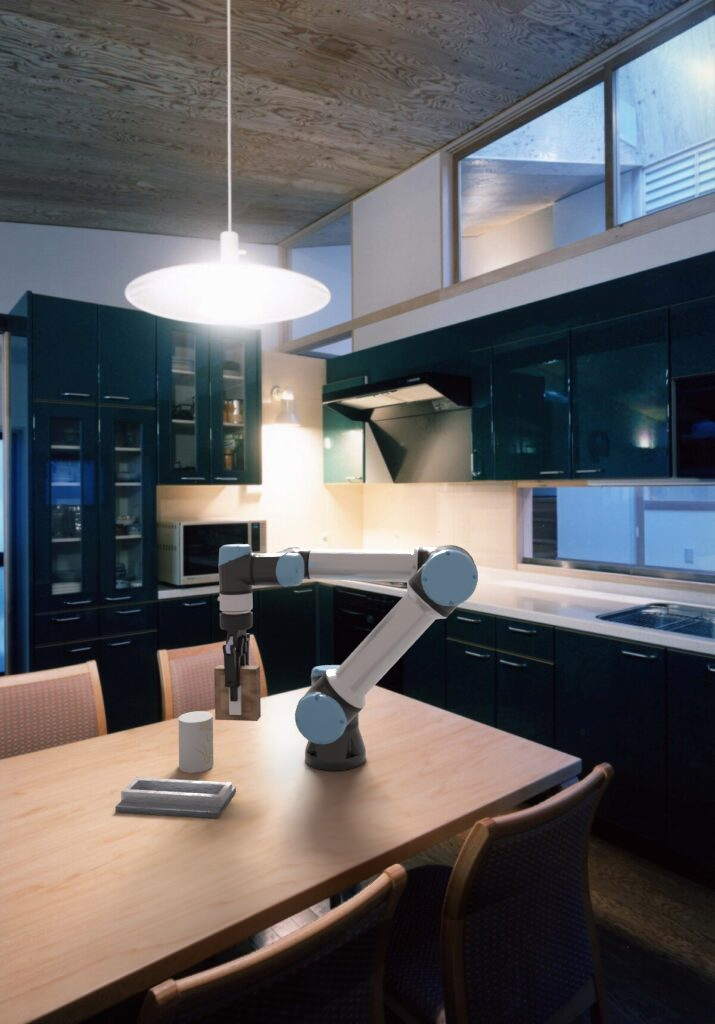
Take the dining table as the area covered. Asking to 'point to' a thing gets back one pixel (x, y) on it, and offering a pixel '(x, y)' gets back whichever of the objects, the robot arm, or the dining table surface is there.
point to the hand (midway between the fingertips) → (238, 711)
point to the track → (175, 797)
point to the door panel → (248, 694)
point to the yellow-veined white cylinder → (195, 741)
